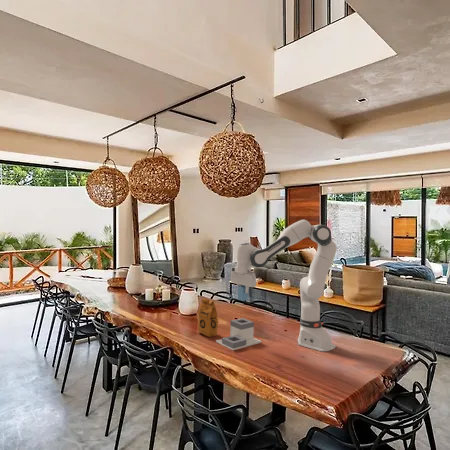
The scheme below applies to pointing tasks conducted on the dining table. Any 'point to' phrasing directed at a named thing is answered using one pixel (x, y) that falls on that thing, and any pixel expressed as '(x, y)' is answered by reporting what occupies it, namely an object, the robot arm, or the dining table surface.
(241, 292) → the plug
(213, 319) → the coffee package
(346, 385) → the dining table surface
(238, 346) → the square socket plate
